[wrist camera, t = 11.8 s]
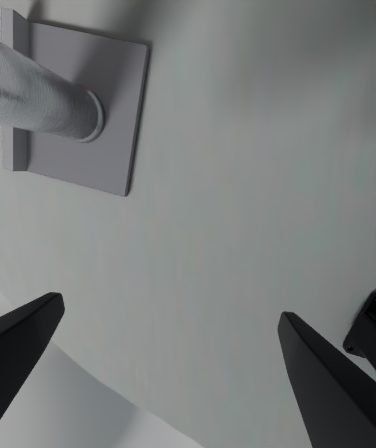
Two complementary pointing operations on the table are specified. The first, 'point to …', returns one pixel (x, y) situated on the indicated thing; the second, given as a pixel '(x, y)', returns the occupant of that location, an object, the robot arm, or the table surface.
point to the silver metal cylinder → (46, 100)
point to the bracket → (91, 79)
